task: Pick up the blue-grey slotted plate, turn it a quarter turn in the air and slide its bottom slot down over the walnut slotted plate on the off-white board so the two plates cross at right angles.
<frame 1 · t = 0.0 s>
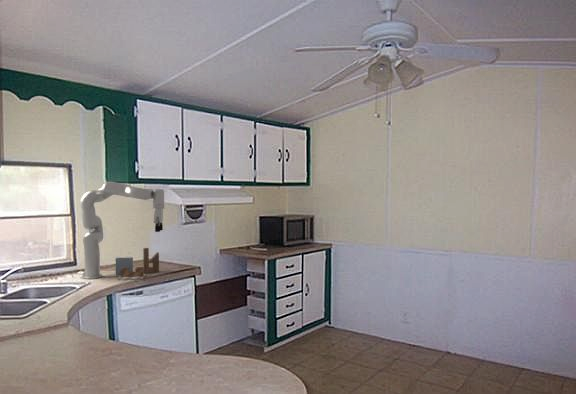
hand: (159, 231, 291), 31 cm above the worktop, tool pointing down, fingers open, 9 cm apart
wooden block: (151, 272, 301), on the worktop
slotted plate: (124, 274, 293), on the worktop
slotted base: (132, 277, 284), on the worktop
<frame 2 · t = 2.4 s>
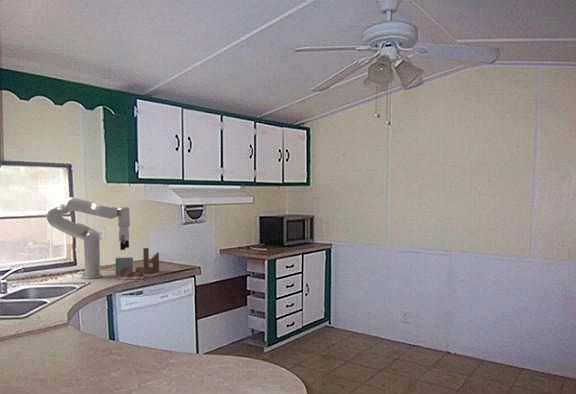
hand: (124, 248, 293), 18 cm above the worktop, tool pointing down, fingers open, 9 cm apart
nothing on the worktop moved.
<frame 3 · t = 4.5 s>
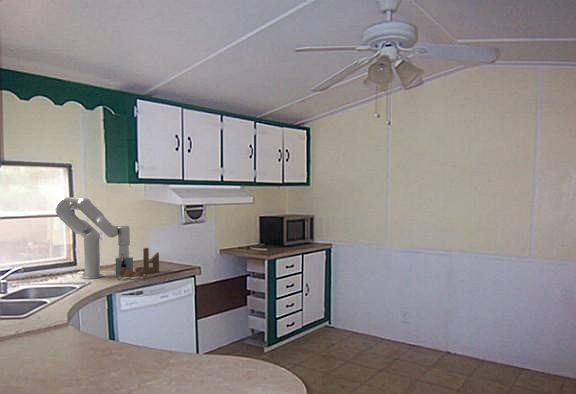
hand: (124, 268, 293), 4 cm above the worktop, tool pointing down, fingers closed on slotted plate, 3 cm apart
slotted plate: (124, 274, 293), on the worktop, touching gripper
everything else where it was.
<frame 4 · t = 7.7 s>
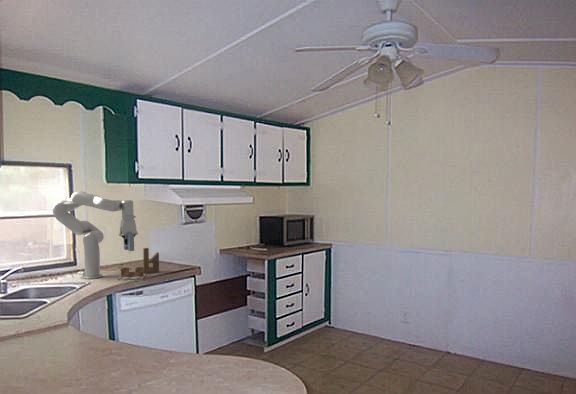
hand: (128, 244, 288), 23 cm above the worktop, tool pointing down, fingers closed on slotted plate, 3 cm apart
slotted plate: (129, 250, 288), point 18 cm above the worktop, touching gripper
everything else where it was.
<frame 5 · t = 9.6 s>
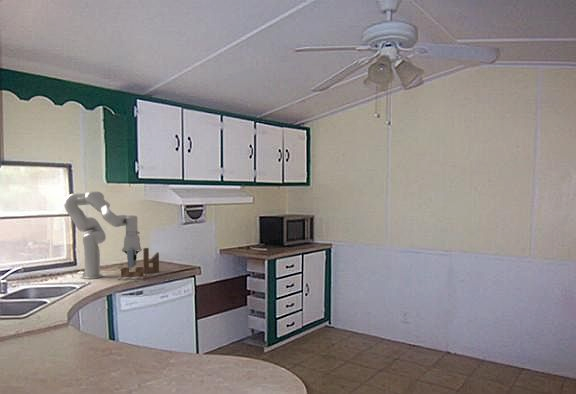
hand: (132, 260, 283), 12 cm above the worktop, tool pointing down, fingers closed on slotted plate, 3 cm apart
slotted plate: (132, 266, 283), point 8 cm above the worktop, touching gripper
everything else where it was.
when the fingers open (8 cm above the worktop, at t = 11.0 s): slotted plate drops 2 cm, resting on slotted base.
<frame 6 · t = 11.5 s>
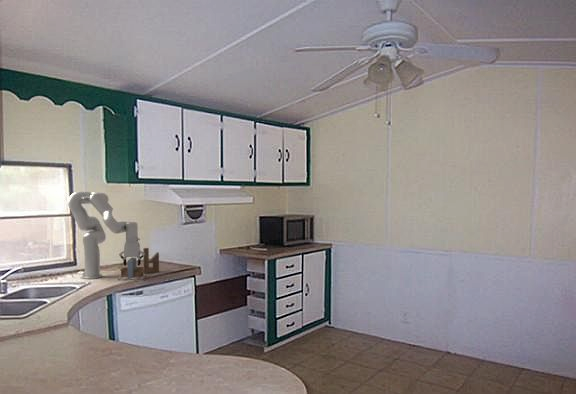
hand: (132, 265, 283), 9 cm above the worktop, tool pointing down, fingers open, 8 cm apart
slotted plate: (132, 276, 284), point 1 cm above the worktop, touching slotted base
everything else where it was.
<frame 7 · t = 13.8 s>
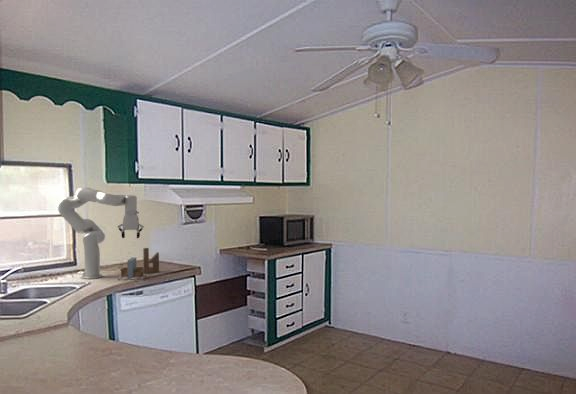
hand: (130, 238, 285), 27 cm above the worktop, tool pointing down, fingers open, 9 cm apart
nothing on the worktop moved.
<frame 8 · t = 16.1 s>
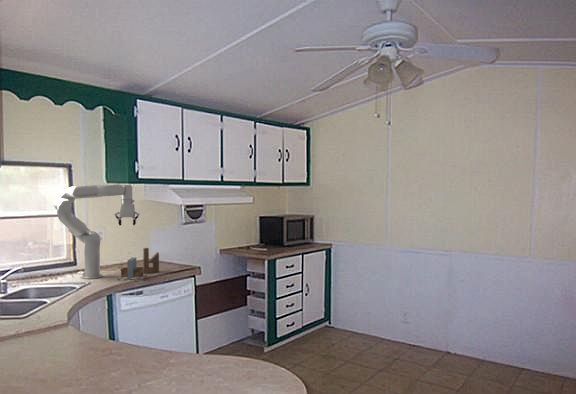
hand: (127, 225, 301), 34 cm above the worktop, tool pointing down, fingers open, 9 cm apart
nothing on the worktop moved.
at the end: slotted plate 0.1 cm off-centre on the slotted base, point 1.0 cm above the slotted base's base; slotted plate tilted 0°; the gripper is holding nothing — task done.
